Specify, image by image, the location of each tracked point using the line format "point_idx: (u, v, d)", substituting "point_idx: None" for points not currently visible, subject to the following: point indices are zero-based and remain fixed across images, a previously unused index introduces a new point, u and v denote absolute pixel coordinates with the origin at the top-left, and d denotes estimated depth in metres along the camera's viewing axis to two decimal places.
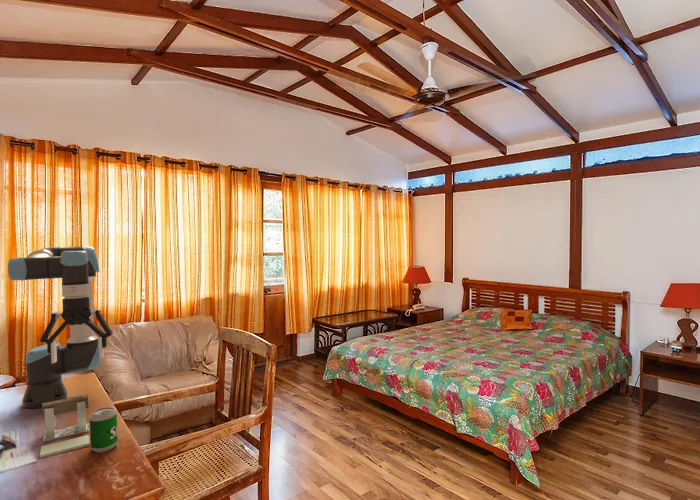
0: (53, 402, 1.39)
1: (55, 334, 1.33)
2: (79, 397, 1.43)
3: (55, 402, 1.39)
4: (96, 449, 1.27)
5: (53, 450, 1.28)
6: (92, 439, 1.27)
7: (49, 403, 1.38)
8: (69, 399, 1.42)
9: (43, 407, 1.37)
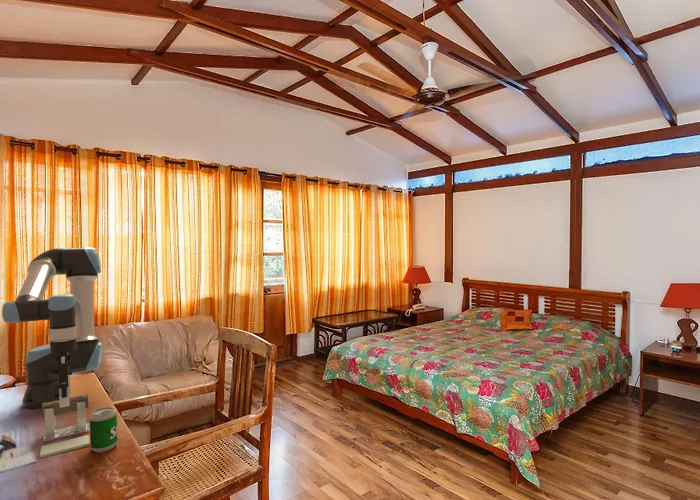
0: (53, 402, 1.39)
1: None
2: (79, 397, 1.43)
3: (55, 402, 1.39)
4: (96, 449, 1.27)
5: (53, 450, 1.28)
6: (92, 439, 1.27)
7: (49, 403, 1.38)
8: (69, 399, 1.42)
9: (43, 407, 1.37)
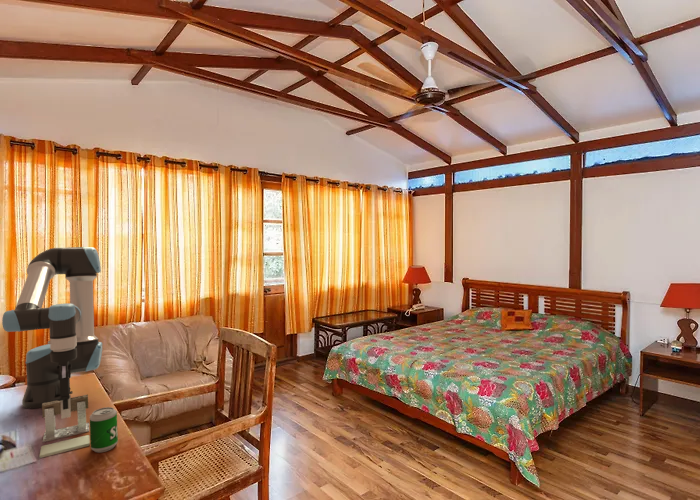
0: (53, 402, 1.39)
1: None
2: (79, 397, 1.43)
3: (55, 402, 1.39)
4: (96, 449, 1.27)
5: (53, 450, 1.28)
6: (92, 439, 1.27)
7: (49, 403, 1.38)
8: None
9: (43, 407, 1.37)
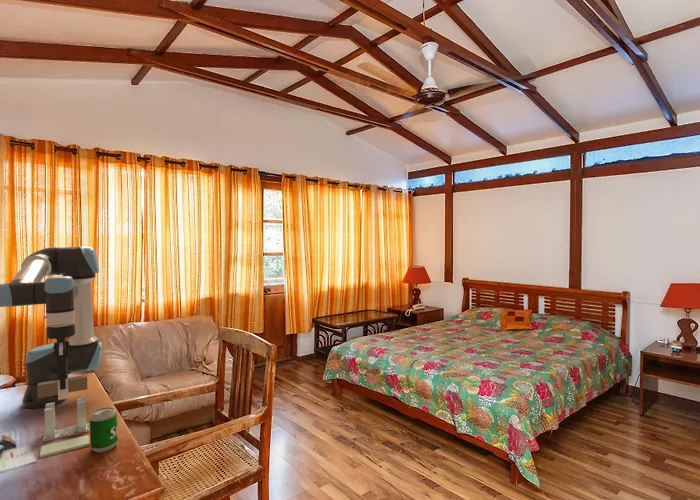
0: (49, 382, 1.29)
1: None
2: (77, 377, 1.33)
3: (52, 382, 1.28)
4: (96, 449, 1.27)
5: (53, 450, 1.28)
6: (92, 439, 1.27)
7: (45, 383, 1.28)
8: None
9: (38, 387, 1.26)
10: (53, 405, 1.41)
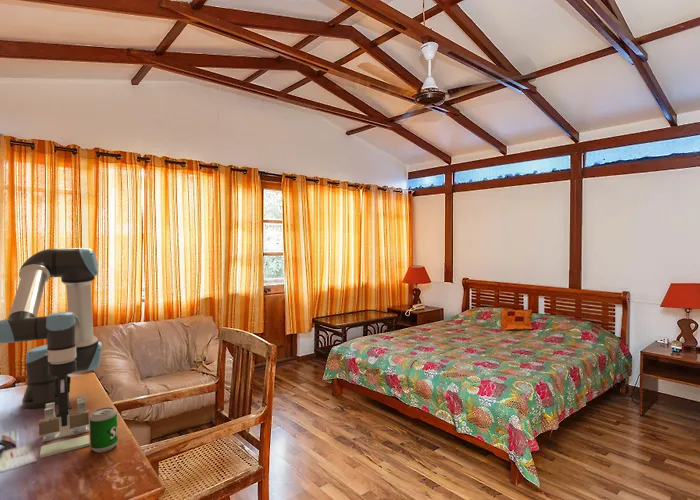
0: (51, 418, 1.29)
1: None
2: (79, 413, 1.33)
3: (53, 419, 1.29)
4: (96, 449, 1.27)
5: (53, 450, 1.28)
6: (92, 439, 1.27)
7: (46, 420, 1.28)
8: None
9: (40, 424, 1.27)
10: (53, 405, 1.41)
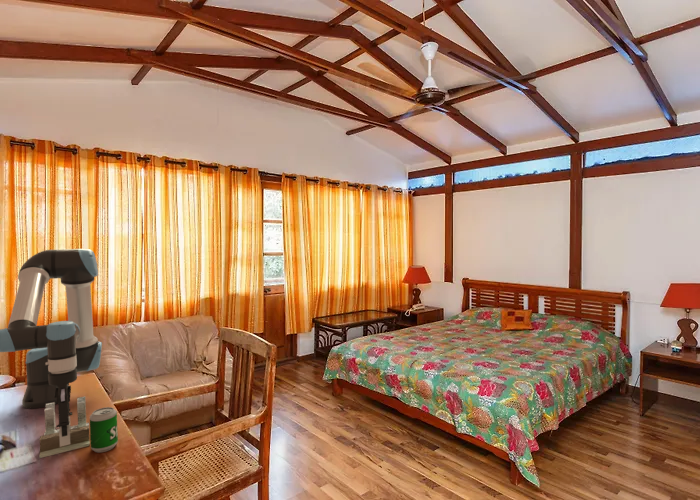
0: (52, 435, 1.29)
1: None
2: (79, 429, 1.33)
3: (54, 436, 1.29)
4: (96, 449, 1.27)
5: (53, 450, 1.28)
6: (92, 439, 1.27)
7: (47, 436, 1.29)
8: None
9: (41, 441, 1.27)
10: (53, 405, 1.41)
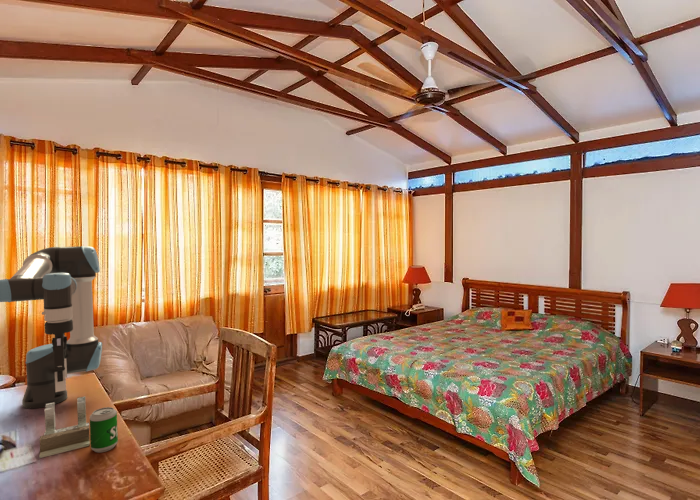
0: (52, 435, 1.29)
1: None
2: (79, 429, 1.33)
3: (54, 436, 1.29)
4: (96, 449, 1.27)
5: (53, 450, 1.28)
6: (92, 439, 1.27)
7: (47, 436, 1.29)
8: (69, 431, 1.32)
9: (41, 441, 1.27)
10: (53, 405, 1.41)
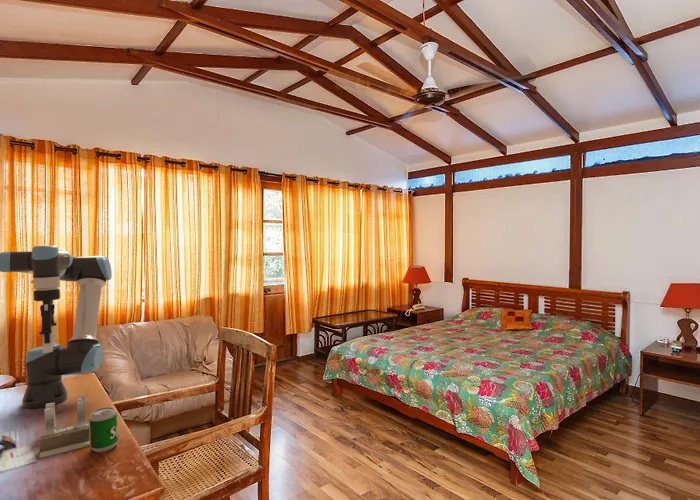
0: (52, 435, 1.29)
1: None
2: (79, 429, 1.33)
3: (54, 436, 1.29)
4: (96, 449, 1.27)
5: (53, 450, 1.28)
6: (92, 439, 1.27)
7: (47, 436, 1.29)
8: (69, 431, 1.32)
9: (41, 441, 1.27)
10: (53, 405, 1.41)
